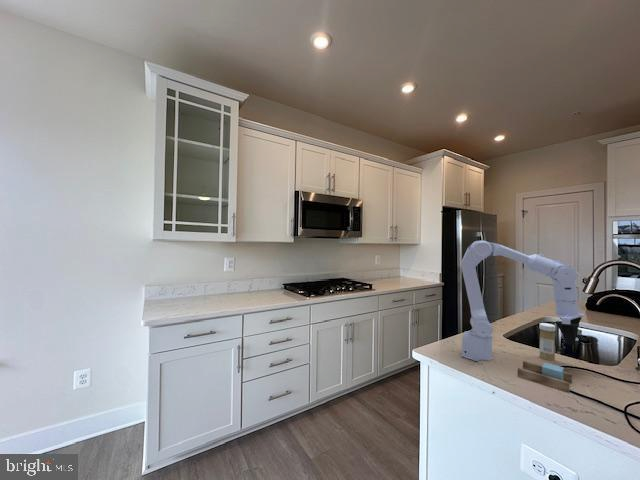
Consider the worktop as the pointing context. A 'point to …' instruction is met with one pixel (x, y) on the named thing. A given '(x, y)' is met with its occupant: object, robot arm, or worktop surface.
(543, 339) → the sprinkles bottle
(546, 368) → the blue block
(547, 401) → the worktop surface
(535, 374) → the walnut channel
